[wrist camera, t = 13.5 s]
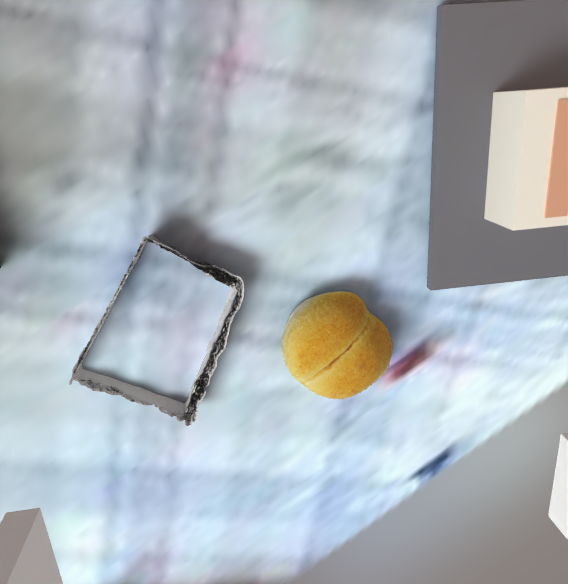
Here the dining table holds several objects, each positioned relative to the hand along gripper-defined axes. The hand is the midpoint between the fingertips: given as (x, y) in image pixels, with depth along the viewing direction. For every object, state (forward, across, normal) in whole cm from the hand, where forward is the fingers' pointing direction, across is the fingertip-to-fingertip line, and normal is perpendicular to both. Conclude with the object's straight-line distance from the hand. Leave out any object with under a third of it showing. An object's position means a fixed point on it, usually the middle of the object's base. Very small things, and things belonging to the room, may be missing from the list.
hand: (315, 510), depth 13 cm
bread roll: (+27, -6, +9) cm, 29 cm away
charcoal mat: (+27, -21, -5) cm, 34 cm away
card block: (+26, -21, -5) cm, 34 cm away
